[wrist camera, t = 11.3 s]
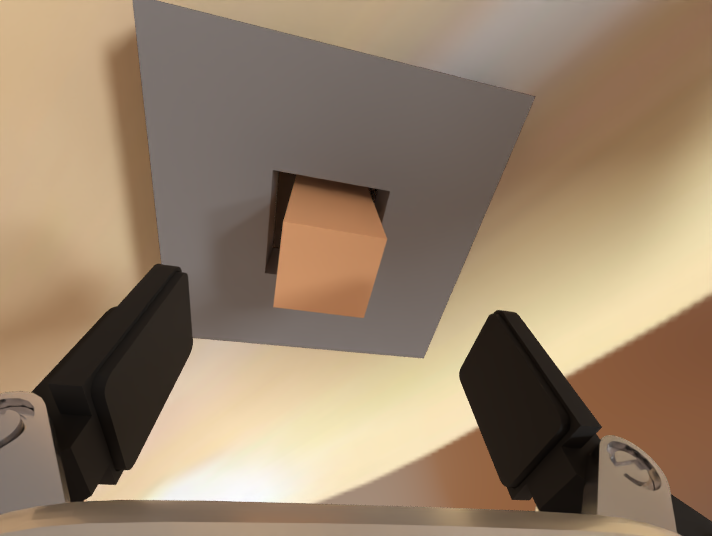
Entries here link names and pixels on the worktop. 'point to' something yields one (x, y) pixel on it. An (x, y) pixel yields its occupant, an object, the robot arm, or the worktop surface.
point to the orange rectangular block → (329, 248)
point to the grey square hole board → (312, 171)
